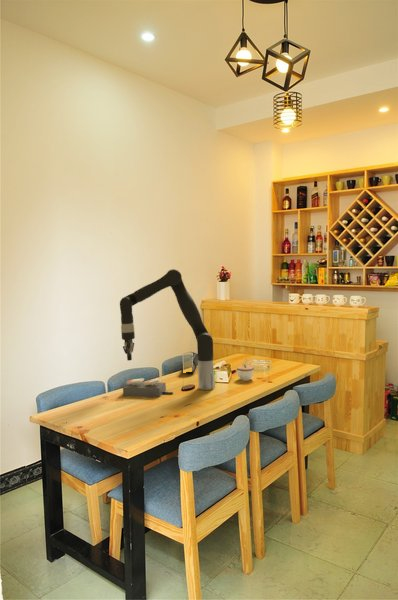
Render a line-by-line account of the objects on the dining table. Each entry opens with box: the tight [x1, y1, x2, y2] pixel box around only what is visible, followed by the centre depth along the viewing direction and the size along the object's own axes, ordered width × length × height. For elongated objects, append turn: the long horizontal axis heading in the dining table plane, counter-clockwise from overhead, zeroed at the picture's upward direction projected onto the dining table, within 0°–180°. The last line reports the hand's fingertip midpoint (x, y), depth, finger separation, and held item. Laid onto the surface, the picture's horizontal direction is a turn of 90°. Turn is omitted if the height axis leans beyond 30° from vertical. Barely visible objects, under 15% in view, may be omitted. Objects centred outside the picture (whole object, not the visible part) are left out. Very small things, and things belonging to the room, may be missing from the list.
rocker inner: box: [144, 377, 162, 385], centre depth 263 cm, size 9×6×2 cm, turn 77°
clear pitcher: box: [181, 351, 198, 373], centre depth 318 cm, size 10×28×10 cm, turn 174°
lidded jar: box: [236, 364, 255, 382], centre depth 287 cm, size 11×11×9 cm
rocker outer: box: [125, 377, 145, 385], centre depth 265 cm, size 9×6×2 cm, turn 77°
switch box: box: [122, 381, 174, 398], centre depth 264 cm, size 28×12×5 cm, turn 78°
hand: (129, 360), depth 266 cm, fingers closed
